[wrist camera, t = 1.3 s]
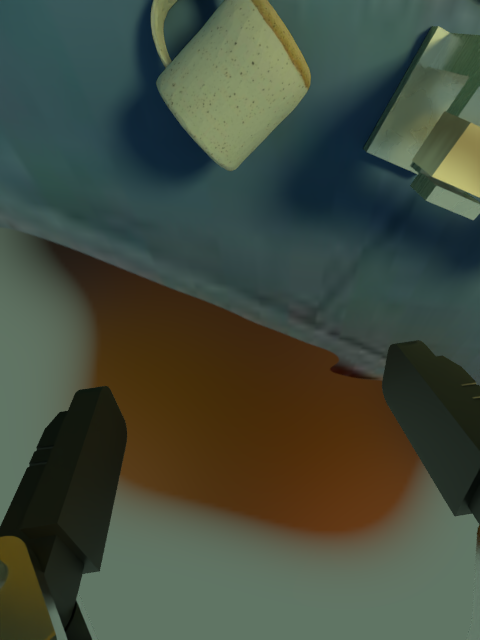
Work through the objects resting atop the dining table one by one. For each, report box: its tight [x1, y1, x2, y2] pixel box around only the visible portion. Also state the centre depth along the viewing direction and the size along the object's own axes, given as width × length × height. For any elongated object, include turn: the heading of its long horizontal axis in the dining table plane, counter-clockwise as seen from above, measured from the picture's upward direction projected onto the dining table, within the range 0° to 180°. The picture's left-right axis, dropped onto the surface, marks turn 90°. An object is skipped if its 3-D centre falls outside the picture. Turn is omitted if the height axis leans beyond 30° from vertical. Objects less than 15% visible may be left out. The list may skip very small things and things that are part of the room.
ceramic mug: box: [151, 0, 311, 171], centre depth 22 cm, size 11×8×8 cm
